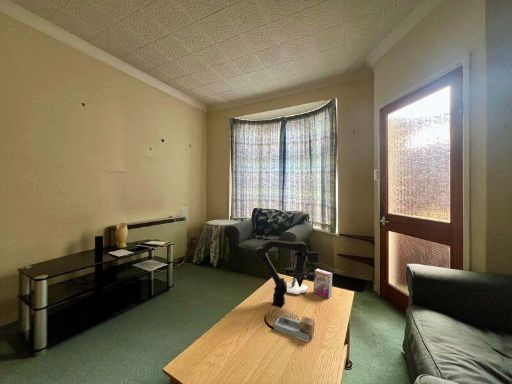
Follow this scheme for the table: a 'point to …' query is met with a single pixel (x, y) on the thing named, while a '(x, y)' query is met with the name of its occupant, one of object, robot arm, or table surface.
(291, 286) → the figurine
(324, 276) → the candy bar box
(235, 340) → the table surface
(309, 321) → the walnut block
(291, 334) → the chute
